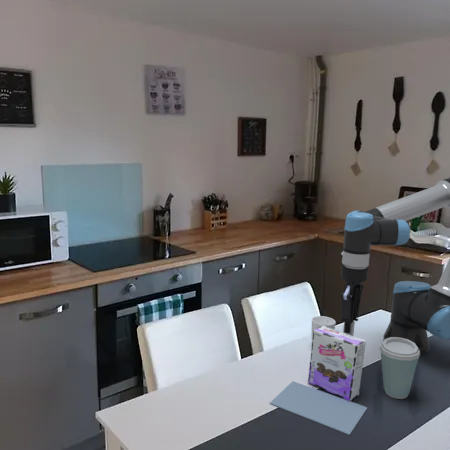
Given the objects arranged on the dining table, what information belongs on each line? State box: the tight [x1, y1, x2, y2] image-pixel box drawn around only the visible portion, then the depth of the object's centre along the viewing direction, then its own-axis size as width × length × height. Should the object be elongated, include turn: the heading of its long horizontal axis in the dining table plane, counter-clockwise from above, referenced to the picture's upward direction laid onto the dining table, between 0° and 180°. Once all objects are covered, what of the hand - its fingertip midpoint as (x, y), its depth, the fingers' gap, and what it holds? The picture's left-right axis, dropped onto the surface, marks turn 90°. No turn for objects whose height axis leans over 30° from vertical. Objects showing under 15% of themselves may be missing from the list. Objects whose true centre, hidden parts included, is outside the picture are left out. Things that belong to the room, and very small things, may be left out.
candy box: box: [307, 326, 367, 402], centre depth 130 cm, size 14×6×16 cm, turn 47°
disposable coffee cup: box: [379, 337, 421, 400], centre depth 129 cm, size 11×11×15 cm
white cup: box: [311, 315, 336, 341], centre depth 156 cm, size 8×8×10 cm
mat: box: [269, 380, 368, 436], centre depth 123 cm, size 14×22×1 cm, turn 56°
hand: (347, 341), depth 138 cm, fingers closed
